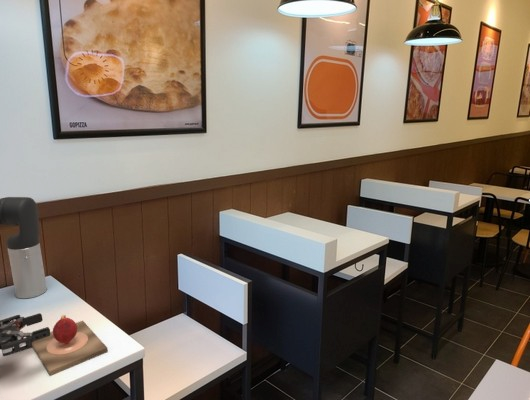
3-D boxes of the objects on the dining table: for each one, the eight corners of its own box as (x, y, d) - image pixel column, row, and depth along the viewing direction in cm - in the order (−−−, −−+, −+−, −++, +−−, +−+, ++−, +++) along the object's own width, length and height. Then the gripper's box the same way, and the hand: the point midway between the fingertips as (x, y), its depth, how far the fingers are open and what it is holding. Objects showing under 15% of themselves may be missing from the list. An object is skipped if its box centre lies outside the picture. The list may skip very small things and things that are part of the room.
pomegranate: (80, 344, 109) (77, 317, 107) (56, 352, 106) (52, 324, 104) (76, 334, 113) (73, 307, 111) (53, 341, 110) (49, 314, 108)
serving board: (30, 343, 112) (29, 338, 111) (83, 324, 121) (82, 319, 120) (50, 375, 99) (49, 370, 98) (107, 351, 108) (107, 346, 108)
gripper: (-32, 348, 89) (50, 322, 99) (-38, 320, 99) (37, 300, 109) (-26, 378, 91) (54, 349, 101) (-32, 348, 101) (41, 325, 111)
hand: (45, 323), depth 105 cm, fingers open, 8 cm apart
